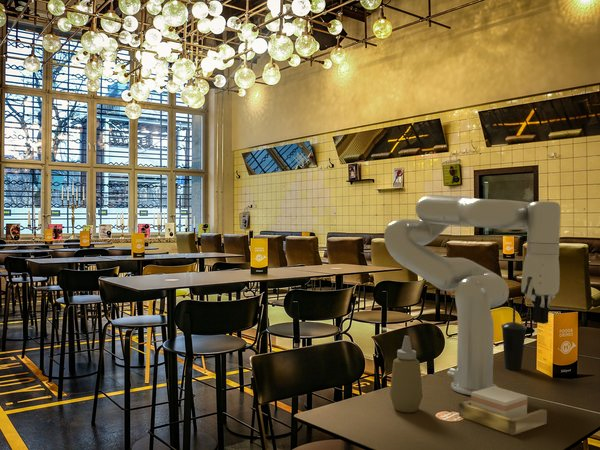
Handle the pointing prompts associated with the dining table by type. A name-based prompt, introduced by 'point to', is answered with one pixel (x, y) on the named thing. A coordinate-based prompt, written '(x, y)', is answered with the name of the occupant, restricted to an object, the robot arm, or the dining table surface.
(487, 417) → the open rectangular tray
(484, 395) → the carton
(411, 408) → the squeeze bottle
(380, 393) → the dining table surface
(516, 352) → the drinking cup
